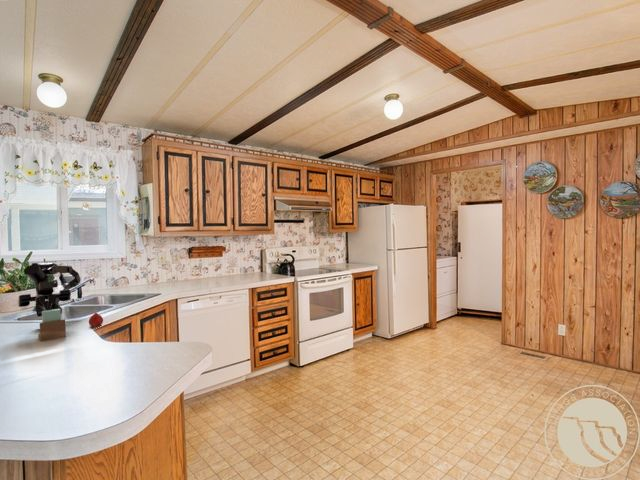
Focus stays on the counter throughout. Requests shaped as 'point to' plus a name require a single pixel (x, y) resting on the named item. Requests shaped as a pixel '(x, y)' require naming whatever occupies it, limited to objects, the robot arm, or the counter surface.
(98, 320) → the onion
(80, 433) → the counter surface
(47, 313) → the green rectangular block
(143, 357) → the counter surface
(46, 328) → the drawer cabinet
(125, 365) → the counter surface
